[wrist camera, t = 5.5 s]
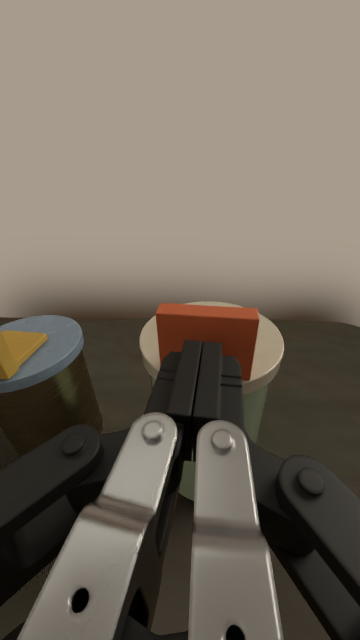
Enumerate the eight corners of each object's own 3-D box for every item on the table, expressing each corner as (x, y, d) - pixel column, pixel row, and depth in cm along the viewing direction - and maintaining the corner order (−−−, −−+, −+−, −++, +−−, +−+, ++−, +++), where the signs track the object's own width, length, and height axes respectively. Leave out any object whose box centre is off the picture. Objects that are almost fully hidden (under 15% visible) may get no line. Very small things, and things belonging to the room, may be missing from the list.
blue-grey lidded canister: (118, 402, 28) (99, 317, 22) (81, 484, 21) (37, 390, 15) (49, 394, 29) (13, 311, 23) (-8, 468, 22) (-80, 376, 16)
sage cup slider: (245, 328, 16) (252, 276, 14) (250, 381, 12) (259, 319, 10) (176, 324, 17) (174, 273, 15) (160, 372, 13) (154, 313, 11)
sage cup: (252, 417, 26) (273, 303, 19) (260, 520, 18) (300, 394, 12) (167, 407, 27) (158, 297, 20) (143, 498, 20) (116, 375, 13)
